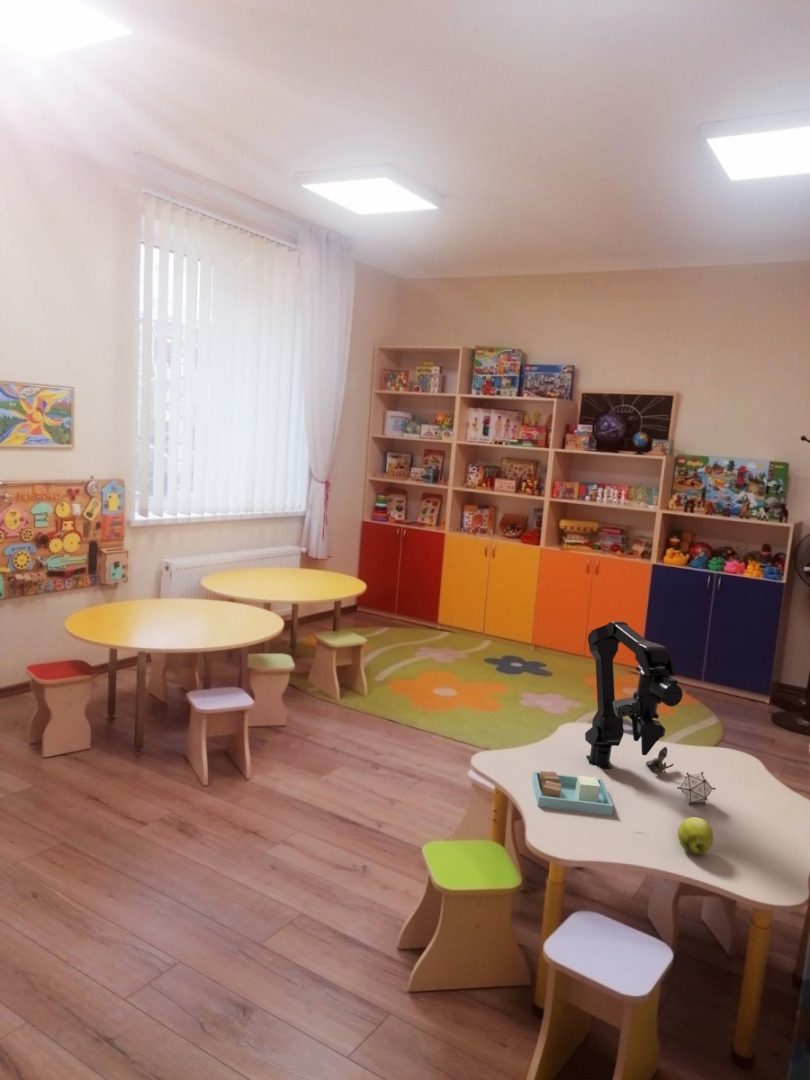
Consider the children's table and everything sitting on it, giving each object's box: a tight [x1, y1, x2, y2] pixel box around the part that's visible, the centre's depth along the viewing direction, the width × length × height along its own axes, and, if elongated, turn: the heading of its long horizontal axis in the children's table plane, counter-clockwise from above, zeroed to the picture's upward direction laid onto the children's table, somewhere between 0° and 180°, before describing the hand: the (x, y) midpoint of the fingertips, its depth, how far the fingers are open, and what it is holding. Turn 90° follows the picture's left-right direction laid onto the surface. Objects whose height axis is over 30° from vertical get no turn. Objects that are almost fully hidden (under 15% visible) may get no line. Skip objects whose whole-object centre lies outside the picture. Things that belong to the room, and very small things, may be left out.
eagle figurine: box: [645, 746, 674, 777], centre depth 227 cm, size 8×7×9 cm
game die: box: [676, 771, 716, 806], centre depth 208 cm, size 9×8×10 cm
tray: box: [531, 771, 614, 816], centre depth 203 cm, size 15×19×3 cm
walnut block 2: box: [543, 780, 562, 798], centre depth 201 cm, size 4×4×4 cm
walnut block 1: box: [539, 770, 559, 792], centre depth 206 cm, size 4×4×4 cm
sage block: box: [575, 775, 600, 803], centre depth 203 cm, size 5×5×5 cm
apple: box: [677, 816, 714, 855], centre depth 183 cm, size 8×9×8 cm
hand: (639, 747), depth 209 cm, fingers open, 9 cm apart
